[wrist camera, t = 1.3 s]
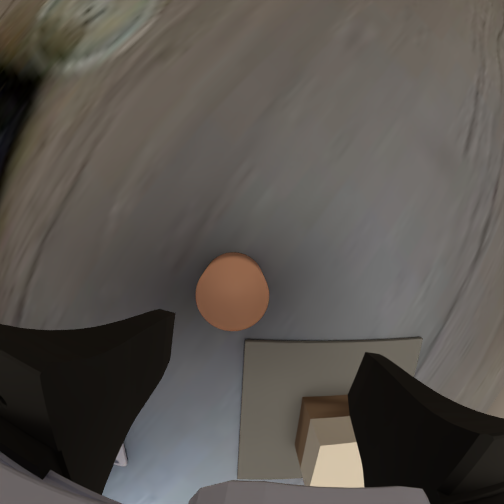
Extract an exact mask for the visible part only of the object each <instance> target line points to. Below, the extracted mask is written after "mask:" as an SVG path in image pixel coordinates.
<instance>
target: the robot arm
mask: <svg viewBox="0 0 504 504" xmlns="http://www.w3.org/2000/svg"><path fill="white" fill-rule="evenodd" d="M174 320H175V313H173V312H169V311H165V310H161V309H158V310H154V311H150V312H147V313H144V314H141V315H138V316H134V317H131V318H128V319H125V320H121V321H118V322H114V323H110V324H106V325H102V326H97V327H91V328H84V329H75V330H35V329H25V328H18V327H13V326H8V325H2V324H0V504H122V503H119V502H116V501H114V500H112V499H109V498H107V497H104V496H102V493H103V490H104V487H105V485H106V482H107V479H108V477H109V474H110V472H111V469H112V467H113V464H115V465H119V466H126V465H127V463H128V461H127V457H126V452H125V448H124V443H123V442H124V440H125V438H126V435H127V433H128V431H129V429H130V427H131V425H132V423H133V422H134V420H135V418H136V417H137V415H138V414H139V412H140V411H141V409H142V408H143V406H144V405H145V403H146V402H147V400H148V399H149V397H150V396H151V394H152V393H153V391H154V389H155V388H156V386H157V385H158V383H159V382H160V380H161V379H162V376H163V374H164V372H165V370H166V368H167V365H168V363H169V361H170V356H171V347H172V337H173V329H174ZM348 405H349V414H350V419H351V423H352V427H353V431H354V435H355V438H356V442H357V446H358V450H359V454H360V458H361V463H362V468H363V478H364V487H360V488H347V487H318V486H303V485H292V484H283V483H274V482H267V481H238V480H231V481H227V482H223V483H219V484H215V485H211V486H207V487H203V488H200V489H199V490H198V491H197V493H196V494H195V495H194V496H193V497H192V498H191V499H190V500H189V504H504V419H503V418H498V417H495V416H491V415H487V414H484V413H481V412H478V411H475V410H472V409H470V408H467V407H465V406H462V405H460V404H458V403H456V402H454V401H452V400H450V399H448V398H446V397H444V396H442V395H440V394H439V393H437V392H435V391H434V390H432V389H430V388H429V387H427V386H426V385H424V384H423V383H421V382H420V381H418V380H417V379H415V378H414V377H413V376H411V375H410V374H409V373H407V372H406V371H404V370H403V369H402V368H400V367H399V366H398V365H396V364H395V363H393V362H392V361H391V360H389V359H388V358H386V357H384V356H383V355H381V354H376V353H369V352H365V354H364V356H363V359H362V361H361V364H360V366H359V369H358V371H357V374H356V376H355V379H354V381H353V383H352V386H351V388H350V390H349V393H348Z"/></svg>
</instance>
